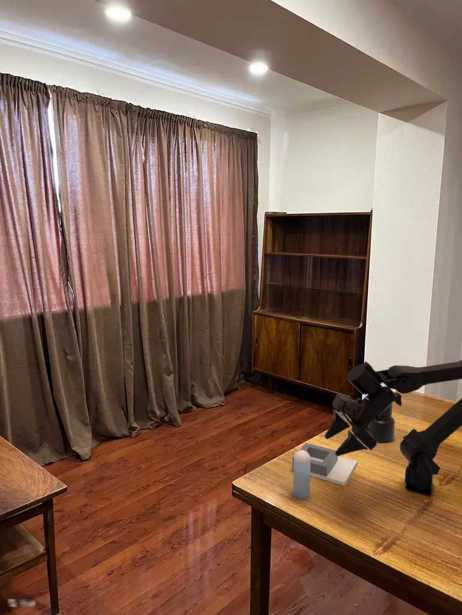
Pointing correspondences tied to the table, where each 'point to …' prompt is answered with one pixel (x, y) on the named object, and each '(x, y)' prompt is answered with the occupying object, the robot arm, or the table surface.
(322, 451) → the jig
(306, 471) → the ball-topped blue post
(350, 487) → the table surface
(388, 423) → the ink bottle
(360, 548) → the table surface
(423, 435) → the robot arm
